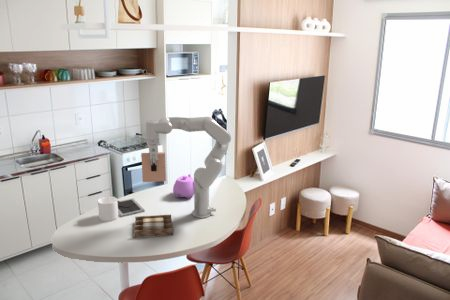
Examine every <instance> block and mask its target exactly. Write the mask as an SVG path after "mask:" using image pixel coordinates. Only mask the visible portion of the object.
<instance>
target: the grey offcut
mask: <svg viewBox="0 0 450 300" xmlns="http://www.w3.org/2000/svg"><path fill="white" fill-rule="evenodd" d="M151 229H164V223H143V230H151Z"/></svg>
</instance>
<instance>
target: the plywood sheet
mask: <svg viewBox="0 0 450 300" xmlns="http://www.w3.org/2000/svg"><path fill="white" fill-rule="evenodd" d="M140 155H141V174H142V183H155V182H166V181H167V179H166V178H167V174H166V152H165V151H161V152H159V151H158V161H157V160H156V166H157V171H151V161H150V156H149V152H141V154H140ZM154 156H155V155H154ZM152 162H153V161H152Z"/></svg>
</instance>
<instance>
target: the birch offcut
mask: <svg viewBox="0 0 450 300" xmlns="http://www.w3.org/2000/svg"><path fill="white" fill-rule="evenodd" d="M143 223H164V221H163V218H148V219H143Z"/></svg>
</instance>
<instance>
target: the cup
mask: <svg viewBox="0 0 450 300" xmlns="http://www.w3.org/2000/svg"><path fill="white" fill-rule="evenodd" d="M117 201H118V198H117V197H116V196H112V195H111V196H109V195H108V196H103V197H100V198H99V199H98V200H97V207H98V219H99V220H100V221H102V222H113V221H115V220H117V219H118V218H119V214H118V202H117Z"/></svg>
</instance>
